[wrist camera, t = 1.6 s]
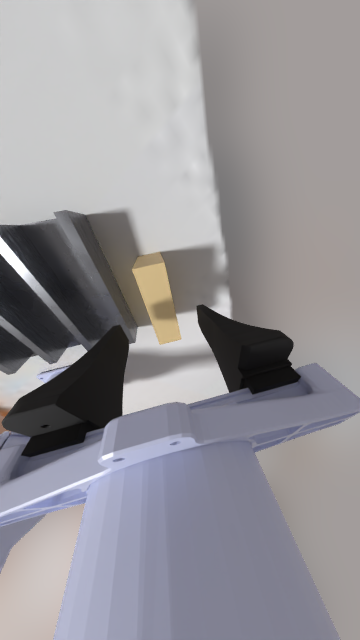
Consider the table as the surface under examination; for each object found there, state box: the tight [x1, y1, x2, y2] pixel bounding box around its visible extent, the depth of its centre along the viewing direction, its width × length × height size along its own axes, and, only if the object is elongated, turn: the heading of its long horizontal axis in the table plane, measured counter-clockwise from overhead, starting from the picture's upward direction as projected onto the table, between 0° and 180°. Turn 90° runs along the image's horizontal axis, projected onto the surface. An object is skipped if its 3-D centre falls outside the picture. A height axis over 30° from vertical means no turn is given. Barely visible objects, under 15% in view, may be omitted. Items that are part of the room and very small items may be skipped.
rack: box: [0, 210, 137, 375], centre depth 17 cm, size 16×19×4 cm
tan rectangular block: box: [132, 252, 181, 345], centre depth 18 cm, size 10×3×7 cm, turn 9°
